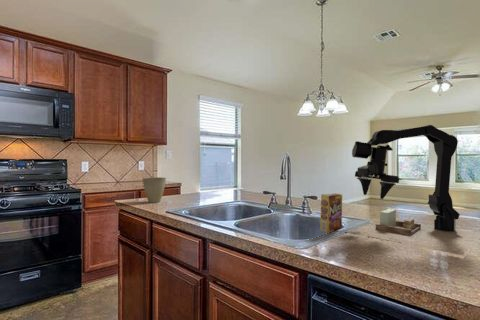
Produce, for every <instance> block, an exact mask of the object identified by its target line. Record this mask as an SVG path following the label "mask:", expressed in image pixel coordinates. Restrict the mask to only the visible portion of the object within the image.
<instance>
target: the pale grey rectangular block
mask: <svg viewBox="0 0 480 320" xmlns="http://www.w3.org/2000/svg"><path fill="white" fill-rule="evenodd" d="M396 216H397V210H396V209H392V208H391V209H390V208H387V209H384V210H381V211H380V212H379V224H380V225H386V226H392V227H395V226H396V221H397V217H396Z"/></svg>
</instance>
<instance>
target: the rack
mask: <svg viewBox="0 0 480 320" xmlns="http://www.w3.org/2000/svg"><path fill="white" fill-rule="evenodd" d="M403 224H404V221H403V220H396V226H395V227H392V226H386V225H380V223H376V224H375V230H379V231H382V232H389V233H394V234H399V235H407V236H412V235H414V234H416V233H418V232H419V231H421V229H422V224H421V223H415V222H414V226H415V229H414V230H411V229H405V228H403Z"/></svg>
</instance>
